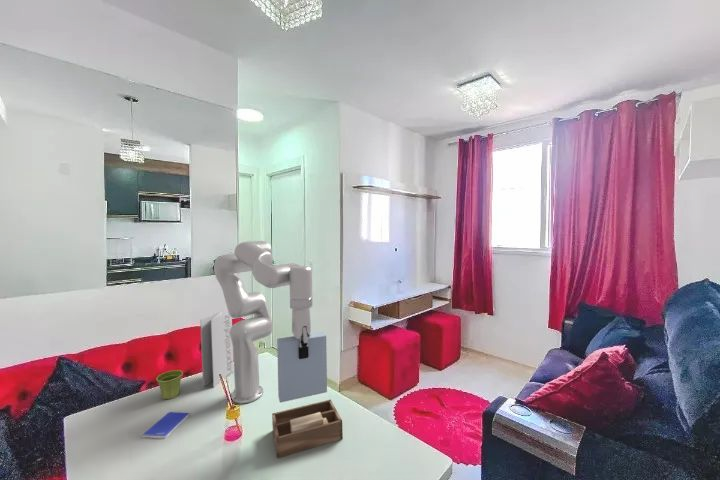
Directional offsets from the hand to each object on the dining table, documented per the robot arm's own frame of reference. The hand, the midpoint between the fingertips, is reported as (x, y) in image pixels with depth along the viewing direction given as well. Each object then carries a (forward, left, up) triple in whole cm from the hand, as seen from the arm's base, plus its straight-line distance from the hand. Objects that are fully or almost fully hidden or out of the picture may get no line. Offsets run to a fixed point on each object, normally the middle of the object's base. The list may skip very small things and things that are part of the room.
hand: (302, 354), depth 102 cm
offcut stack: (+7, 0, -26) cm, 27 cm away
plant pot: (-43, -48, -26) cm, 70 cm away
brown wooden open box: (+3, 0, -26) cm, 26 cm away
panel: (0, 0, -14) cm, 14 cm away
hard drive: (-21, -45, -27) cm, 56 cm away
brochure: (-50, -30, -26) cm, 64 cm away
